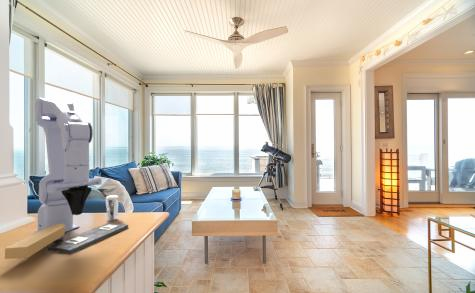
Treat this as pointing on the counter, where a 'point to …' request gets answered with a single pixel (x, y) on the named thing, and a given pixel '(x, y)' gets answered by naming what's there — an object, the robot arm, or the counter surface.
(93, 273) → the counter surface
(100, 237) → the panel
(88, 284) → the counter surface
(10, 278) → the counter surface
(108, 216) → the milkshake
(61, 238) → the pivot plinth
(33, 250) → the light wooden plank
